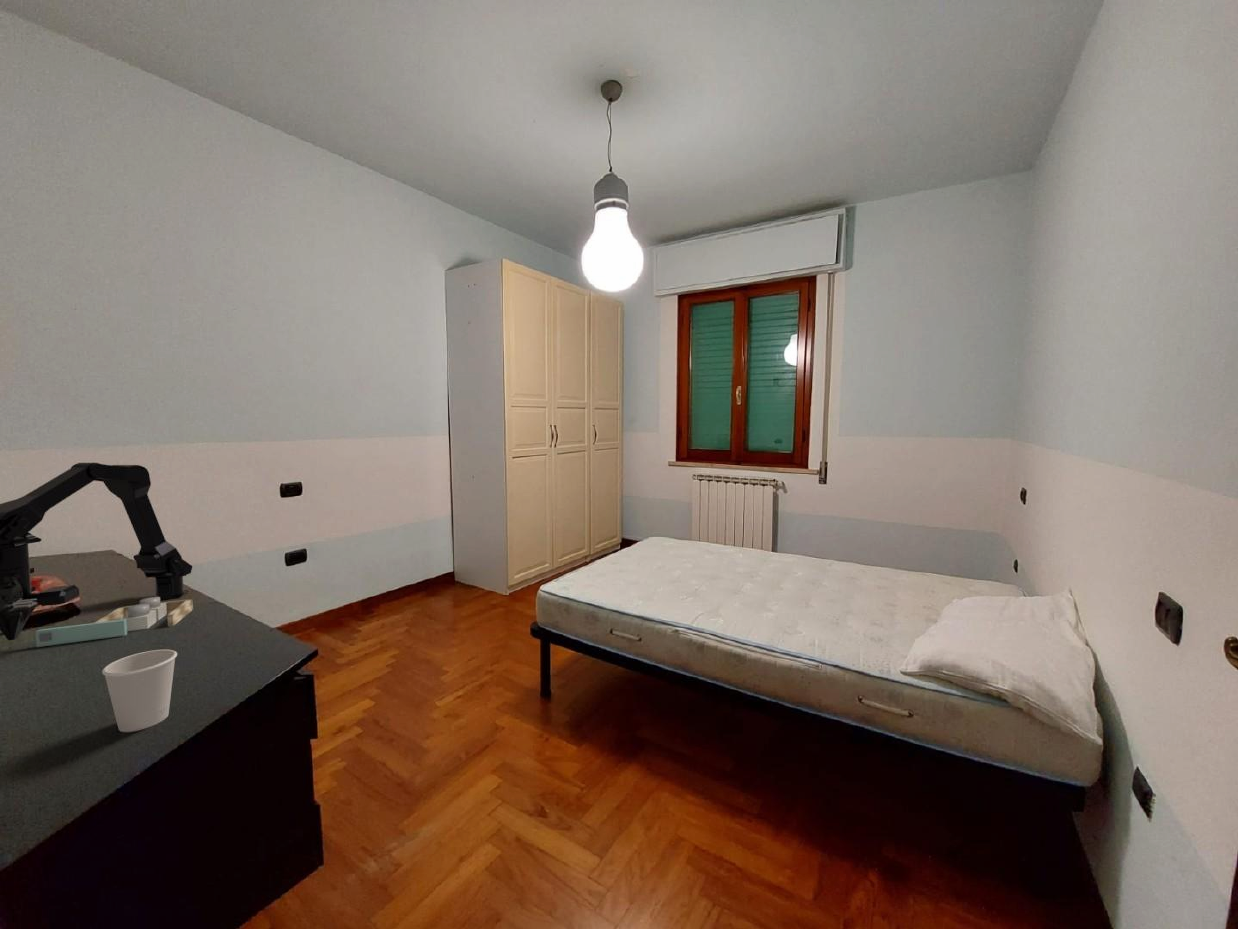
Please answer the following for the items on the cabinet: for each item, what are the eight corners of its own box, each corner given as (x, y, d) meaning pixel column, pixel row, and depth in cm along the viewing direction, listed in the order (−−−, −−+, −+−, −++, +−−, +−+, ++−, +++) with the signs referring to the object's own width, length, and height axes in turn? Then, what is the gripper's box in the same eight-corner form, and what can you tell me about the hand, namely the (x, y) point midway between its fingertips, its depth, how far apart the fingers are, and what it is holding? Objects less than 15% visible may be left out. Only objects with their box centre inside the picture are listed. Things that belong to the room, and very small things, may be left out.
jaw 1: (121, 632, 108) (120, 611, 108) (131, 625, 112) (130, 604, 112) (147, 628, 110) (146, 608, 110) (156, 621, 114) (155, 602, 114)
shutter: (39, 645, 100) (38, 629, 100) (127, 633, 107) (126, 619, 106) (35, 647, 99) (34, 632, 99) (124, 636, 105) (123, 621, 105)
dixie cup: (193, 705, 79) (191, 648, 78) (145, 737, 70) (141, 673, 70) (143, 706, 78) (140, 649, 78) (88, 738, 70) (84, 674, 70)
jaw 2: (143, 617, 117) (142, 597, 117) (166, 614, 119) (165, 595, 119) (134, 623, 113) (133, 603, 113) (158, 620, 115) (157, 600, 115)
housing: (120, 618, 116) (120, 607, 116) (193, 610, 122) (192, 599, 122) (92, 637, 105) (91, 624, 105) (173, 626, 111) (172, 614, 111)
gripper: (-99, 584, 86) (-92, 665, 87) (44, 572, 94) (49, 646, 95) (-47, 569, 96) (-42, 642, 97) (78, 559, 104) (83, 626, 105)
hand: (12, 639), depth 98 cm, fingers closed
